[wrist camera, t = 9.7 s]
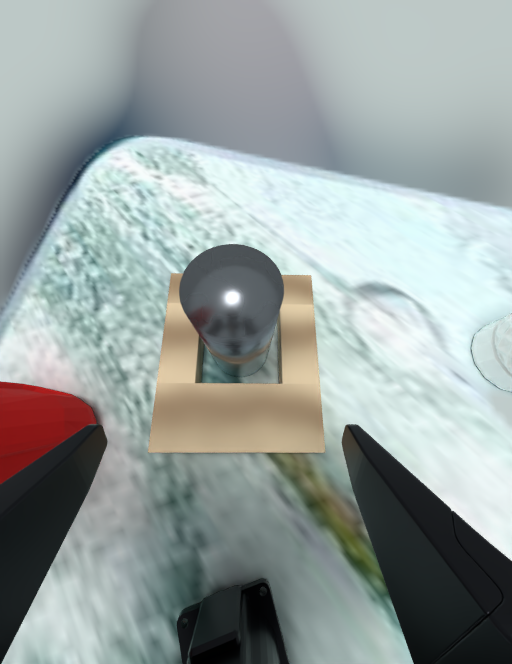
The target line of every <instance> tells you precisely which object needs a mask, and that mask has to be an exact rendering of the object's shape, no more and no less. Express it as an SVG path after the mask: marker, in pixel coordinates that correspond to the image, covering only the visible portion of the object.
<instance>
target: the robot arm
mask: <svg viewBox="0 0 512 664" xmlns="http://www.w3.org/2000/svg"><path fill="white" fill-rule="evenodd" d="M106 446H107V438H106V435H105V432H104V430H103V427H102V426H101V425H100V424H89V425H87V426H85V427H84V428H82V429H81V430H79V431H78V432H76V433H75V434H74V435H72V436H71V437H69V438H68V439H66V440H65V441H63V442H62V443H60V444H59V445H57V446H56V447H54V448H53V449H51V450H50V451H48V452H47V453H46V454H44V455H43V456H41V457H40V458H38V459H37V460H35V461H34V462H32V463H31V464H29V465H28V466H26V467H25V468H23V469H22V470H20V471H19V472H18V473H16V474H15V475H13V476H12V477H10V478H9V479H7V480H6V481H4V482H3V483H1V484H0V664H1V663H2V661H3V659H4V657H5V655H6V653H7V651H8V649H9V647H10V645H11V643H12V641H13V639H14V637H15V635H16V634H17V632H18V630H19V628H20V626H21V624H22V622H23V620H24V618H25V616H26V614H27V612H28V610H29V608H30V606H31V604H32V602H33V600H34V598H35V596H36V594H37V592H38V590H39V588H40V586H41V584H42V582H43V580H44V578H45V576H46V574H47V572H48V570H49V568H50V566H51V564H52V562H53V560H54V559H55V557H56V555H57V553H58V551H59V549H60V547H61V545H62V543H63V541H64V539H65V537H66V535H67V533H68V531H69V529H70V527H71V525H72V523H73V521H74V519H75V517H76V515H77V513H78V511H79V509H80V507H81V505H82V503H83V501H84V499H85V497H86V495H87V493H88V491H89V489H90V486H91V484H92V482H93V479H94V477H95V474H96V472H97V469H98V467H99V464H100V462H101V459H102V456H103V454H104V451H105V449H106ZM342 447H343V451H344V455H345V460H346V464H347V468H348V472H349V476H350V480H351V484H352V488H353V491H354V494H355V497H356V500H357V503H358V506H359V509H360V512H361V515H362V517H363V520H364V523H365V526H366V529H367V532H368V534H369V537H370V540H371V543H372V546H373V549H374V552H375V554H376V557H377V560H378V563H379V566H380V569H381V572H382V574H383V577H384V580H385V583H386V586H387V589H388V592H389V594H390V597H391V600H392V603H393V606H394V609H395V612H396V614H397V617H398V620H399V623H400V626H401V629H402V632H403V634H404V637H405V640H406V643H407V646H408V649H409V652H410V654H411V657H412V660H413V663H414V664H512V561H511V560H510V559H509V558H507V557H506V556H505V555H504V554H503V553H501V552H500V551H499V550H498V549H496V548H495V547H494V546H493V545H492V544H490V543H489V542H488V541H487V540H486V539H485V538H483V537H482V536H481V535H480V534H479V533H478V532H477V531H475V530H474V529H473V528H472V527H471V526H470V525H469V524H467V523H466V522H465V521H464V520H463V519H462V518H461V517H460V516H458V515H457V514H456V513H455V512H454V511H451V509H450V508H449V507H448V506H447V505H446V504H445V503H444V502H443V501H442V500H441V499H440V498H438V497H437V496H436V495H435V494H434V493H433V492H432V491H431V490H430V489H428V488H427V487H426V486H425V485H424V484H423V483H422V482H421V481H420V480H418V479H417V478H416V477H415V476H414V475H413V474H412V473H411V472H410V471H408V470H407V469H406V468H405V467H404V466H403V465H402V464H401V463H400V462H399V461H397V460H396V459H395V458H394V457H393V456H392V455H391V454H390V453H389V452H387V451H386V450H385V449H384V448H383V447H382V446H381V445H380V444H379V443H377V442H376V441H375V440H374V439H373V438H372V437H371V436H370V435H369V434H367V433H366V432H365V431H364V430H363V429H362V428H361V427H360V426H358V425H356V424H348V425H346V426H345V429H344V433H343V437H342ZM261 587H265V588H266V591H265V592H261V591H260V588H261ZM184 618H186V619H187V620H188V623H187V624H185V623H183V621H182V619H184ZM177 630H178V636H179V643H180V649H181V656H182V663H183V664H289V660H288V656H287V652H286V648H285V644H284V640H283V636H282V632H281V628H280V624H279V620H278V616H277V612H276V609H275V605H274V601H273V597H272V593H271V589H270V585H269V582H268V581H267V580H266V579H260V580H257V581H255V582H252V583H250V584H247V585H245V586H242V587H240V586H238V585H236V586H233V587H231V588H228V589H226V590H223V591H221V592H218V593H216V594H213V595H211V596H208V597H206V598H204V599H203V601H202V603H200V604H197V605H194V606H192V607H189V608H187V609H184V610H183V611H182V612H181V613H180V615H179V618H178V621H177Z"/></svg>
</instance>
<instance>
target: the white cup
mask: <svg viewBox="0 0 512 664" xmlns="http://www.w3.org/2000/svg"><path fill="white" fill-rule="evenodd" d="M471 350H472V354H473V358H474V362H475V364H476V366H477V367H478V369H479V370H480V371H481V373H482V374H483V376H484V377H485V378H486V379H487V380H489V381H490V382H491V383H493V384H494V385H496V386H497V387H498V388H500V389H502V390H506V391H510V392H512V314H510V315H508V316H506V317H505V318H502V319H500V320H498V321H495V322H493V323H491V324H488V325H486V326H484V327H483V328H482V329H481V330H480V331H478V332H477V333H476V334H475V335H474V339H473V343H472V347H471Z"/></svg>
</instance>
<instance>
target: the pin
mask: <svg viewBox="0 0 512 664" xmlns="http://www.w3.org/2000/svg"><path fill="white" fill-rule="evenodd" d="M179 297H180V303H181V306H182V308H183V310H184V313H185V314H186V316H187V317H188V319H189V320H190V322H191V324H192V325H193V327H194V328H195V330H196V331H197V333H198V334H199V336H200V338H201V339H202V341H203V342H204V344H205V345H206V347H207V348H208V350H209V352H210V353H211V355H212V356H213V358H214V359H215V361H216V362H217V364H218V365H219V367H220V368H221V369H222V370H223V371H224V372H226V373H227V374H229V375H232V376H236V377H245V376H249V375H251V374H253V373H255V372H257V371H258V370H259V369H260V368H261V367H262V366H263V364H264V362H265V360H266V357H267V353H268V350H269V347H270V343H271V340H272V336H273V333H274V329H275V326H276V322H277V319H278V315H279V312H280V308H281V305H282V302H283V297H284V283H283V279H282V276H281V273H280V271H279V269H278V268H277V266H276V265H275V263H274V262H273V261H272V260H271V259H270V258H269V257H268V256H267V255H265V254H264V253H262V252H260V251H259V250H257V249H254V248H252V247H248V246H245V245H238V244H228V245H221V246H217V247H213V248H211V249H208V250H206V251H204V252H203V253H201V254H200V255H198V256H197V257H196V258H195V259H194V260H192V261H191V263H190V264H189V265H188V266H187V268H186V269H185V271H184V273H183V275H182V278H181V281H180V286H179Z"/></svg>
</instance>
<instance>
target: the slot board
mask: <svg viewBox="0 0 512 664" xmlns="http://www.w3.org/2000/svg"><path fill="white" fill-rule="evenodd" d="M182 275H183V274H176V273H171V279H170V287H169V294H168V302H167V310H166V317H165V325H164V333H163V341H162V348H161V356H160V364H159V371H158V379H157V387H156V394H155V402H154V410H153V417H152V425H151V433H150V440H149V448H148V453H325V443H324V431H323V418H322V405H321V393H320V380H319V368H318V355H317V343H316V330H315V318H314V305H313V292H312V280H311V275H281V276H282V279H283V283H284V297H283V302H282V305H281V308H280V312H279V315H278V319H277V327H278V364H279V384H244V383H201V378H202V365H203V351H204V342H203V341H202V339H201V338H200V336H199V334H198V333H197V331H196V330H195V328H194V327H193V325H192V324H191V322H190V320H189V319H188V317H187V316H186V314H185V313H184V310H183V308H182V306H181V303H180V297H179V286H180V281H181V278H182Z"/></svg>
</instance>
